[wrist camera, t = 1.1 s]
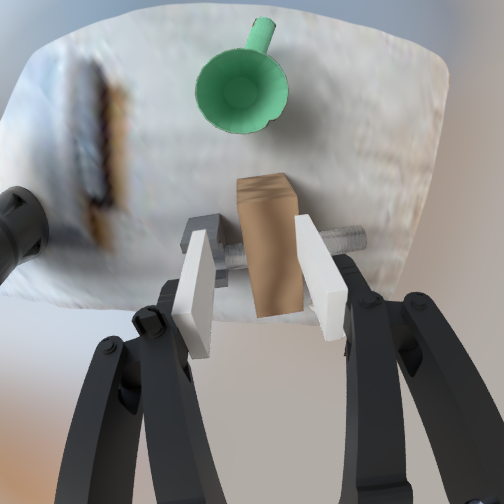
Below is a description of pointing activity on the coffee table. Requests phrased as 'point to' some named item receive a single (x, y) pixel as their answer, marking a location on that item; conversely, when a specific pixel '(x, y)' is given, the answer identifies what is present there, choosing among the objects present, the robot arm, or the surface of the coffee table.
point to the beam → (271, 243)
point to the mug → (243, 85)
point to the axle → (333, 239)
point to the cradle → (215, 240)
